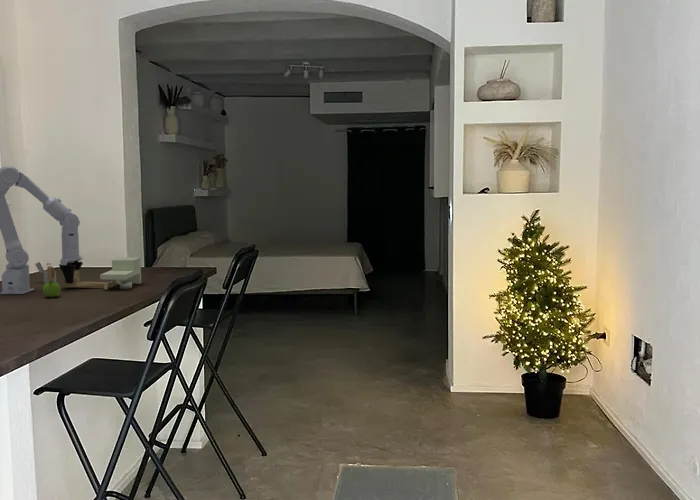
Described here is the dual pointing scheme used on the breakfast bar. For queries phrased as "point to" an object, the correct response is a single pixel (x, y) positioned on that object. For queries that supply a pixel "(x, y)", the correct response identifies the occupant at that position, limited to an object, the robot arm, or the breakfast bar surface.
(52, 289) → the green gourd
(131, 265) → the pale chair
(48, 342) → the breakfast bar surface
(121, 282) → the token
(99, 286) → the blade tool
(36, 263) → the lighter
